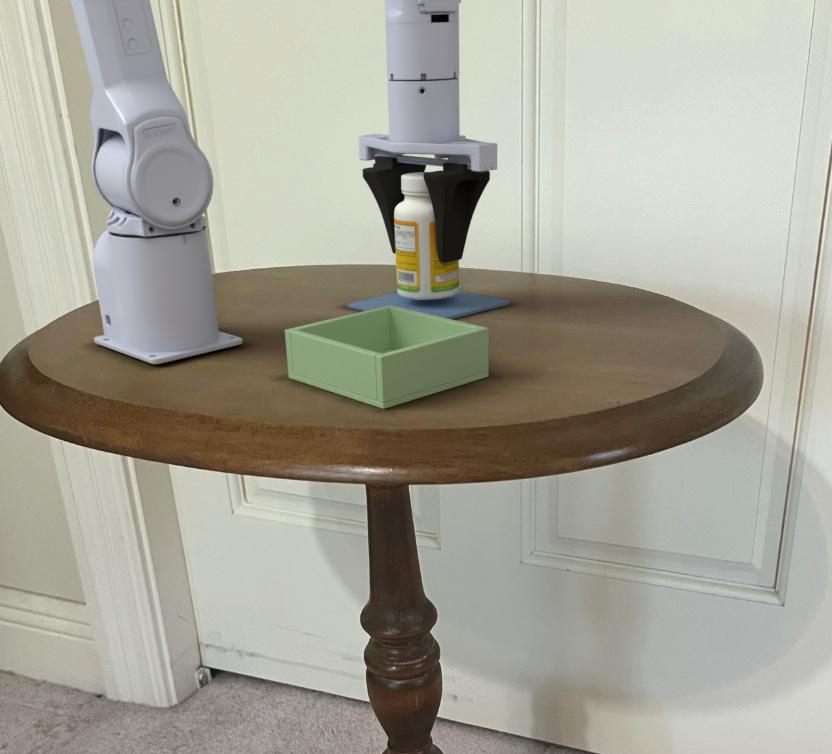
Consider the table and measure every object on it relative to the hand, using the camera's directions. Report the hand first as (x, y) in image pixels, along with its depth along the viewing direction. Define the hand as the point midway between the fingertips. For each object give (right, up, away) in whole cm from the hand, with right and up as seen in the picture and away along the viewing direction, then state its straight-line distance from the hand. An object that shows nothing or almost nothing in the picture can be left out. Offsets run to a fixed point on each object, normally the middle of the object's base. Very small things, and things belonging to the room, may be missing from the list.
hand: (427, 256), depth 92 cm
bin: (-3, -14, -17) cm, 22 cm away
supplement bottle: (0, -3, +2) cm, 3 cm away
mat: (0, -4, +2) cm, 4 cm away
